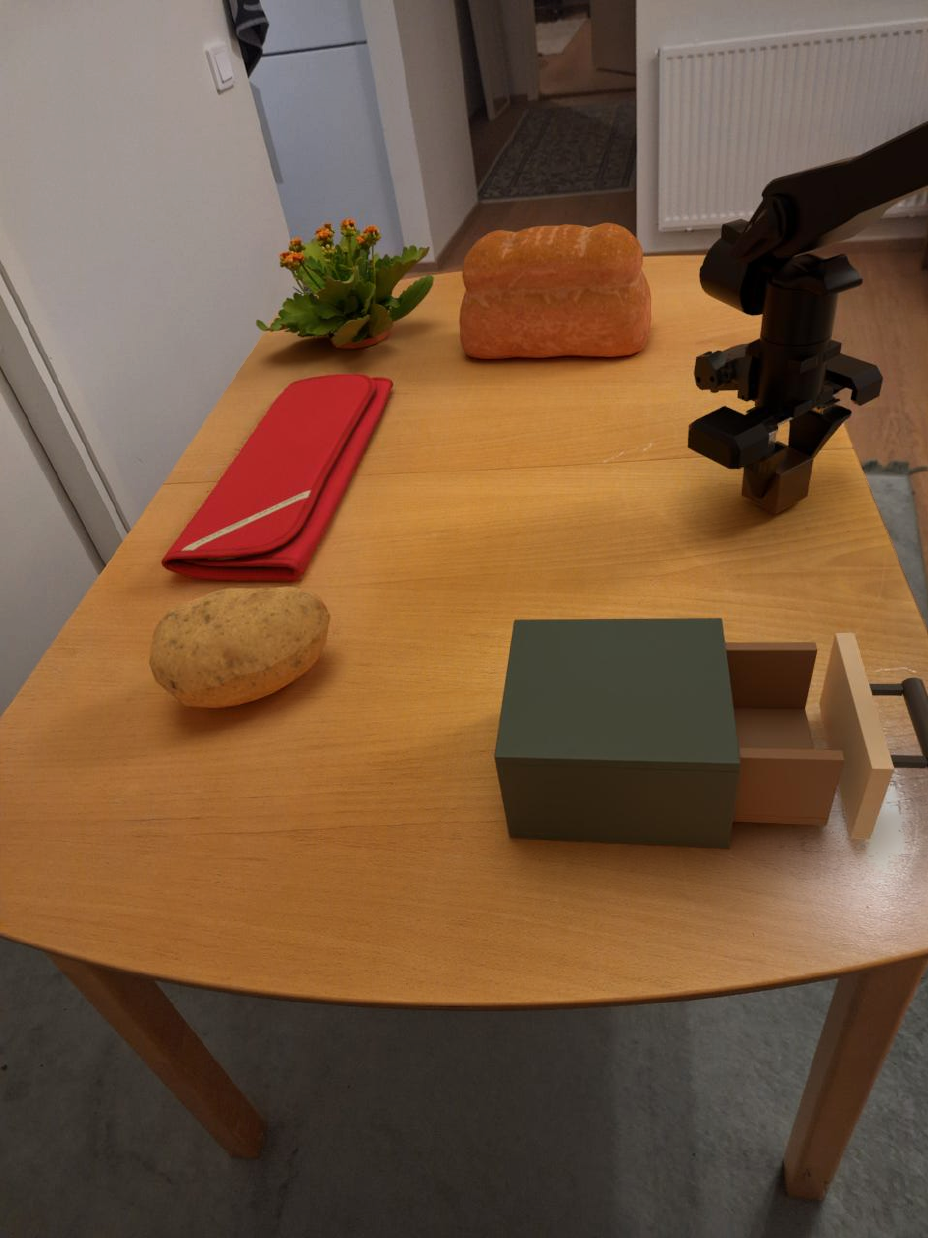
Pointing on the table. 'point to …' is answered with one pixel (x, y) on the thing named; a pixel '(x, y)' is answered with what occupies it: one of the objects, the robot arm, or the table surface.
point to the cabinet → (619, 732)
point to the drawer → (781, 740)
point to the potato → (238, 644)
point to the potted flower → (347, 287)
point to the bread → (555, 293)
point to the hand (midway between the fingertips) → (775, 487)
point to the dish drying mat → (283, 483)
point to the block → (784, 482)
